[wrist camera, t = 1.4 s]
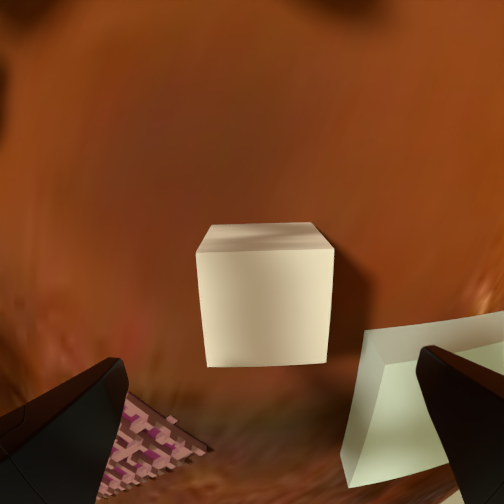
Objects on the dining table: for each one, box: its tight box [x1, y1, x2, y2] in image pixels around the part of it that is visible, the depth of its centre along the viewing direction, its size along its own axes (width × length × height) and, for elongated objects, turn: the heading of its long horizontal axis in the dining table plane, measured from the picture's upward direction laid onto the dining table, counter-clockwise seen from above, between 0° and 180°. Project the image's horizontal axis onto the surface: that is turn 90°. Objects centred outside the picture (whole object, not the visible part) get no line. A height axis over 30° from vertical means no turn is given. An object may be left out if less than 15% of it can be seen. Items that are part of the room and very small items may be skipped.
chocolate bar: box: [96, 392, 207, 501], centre depth 22 cm, size 7×19×2 cm, turn 134°
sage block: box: [340, 311, 504, 488], centre depth 18 cm, size 12×12×4 cm
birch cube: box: [196, 222, 334, 367], centre depth 15 cm, size 5×5×5 cm
